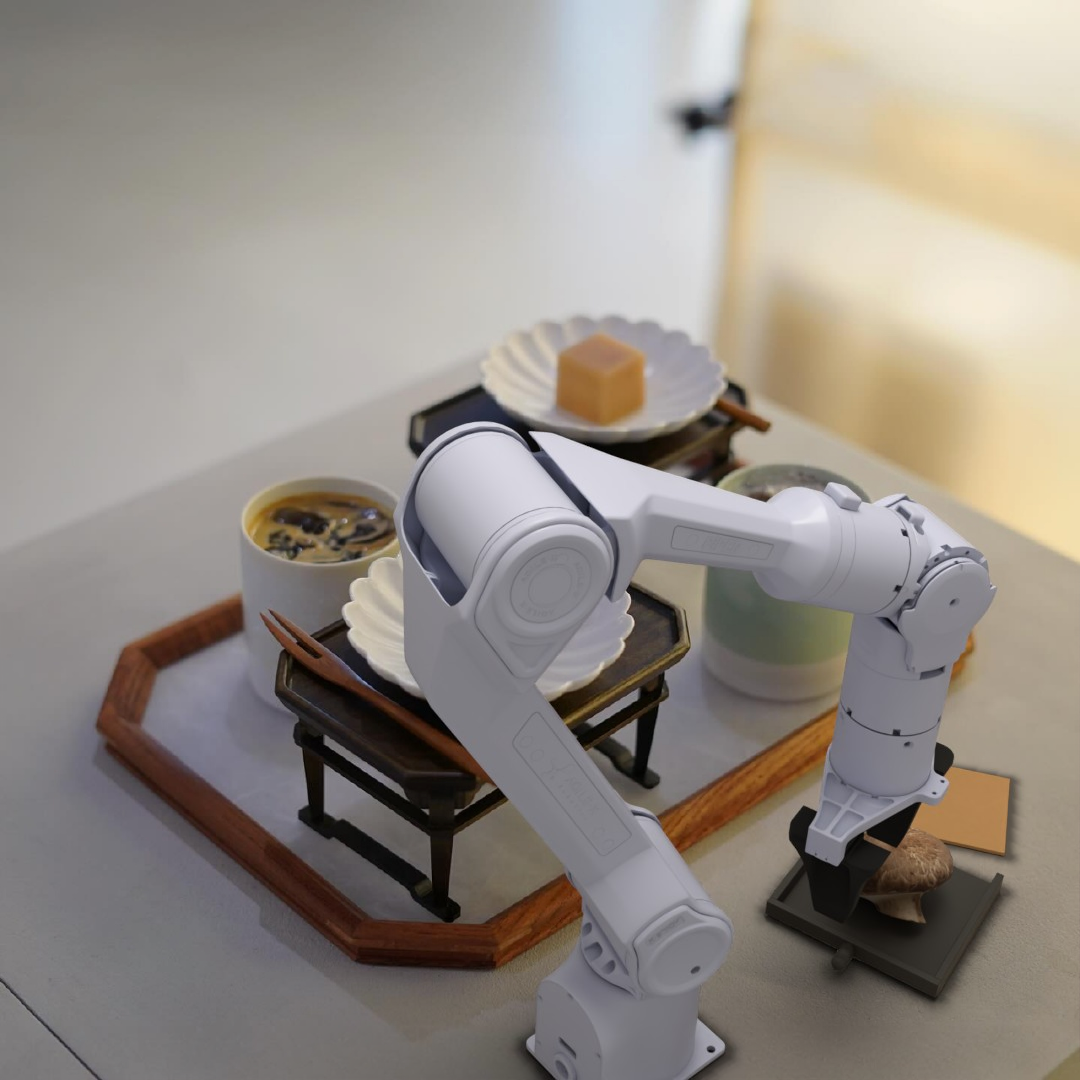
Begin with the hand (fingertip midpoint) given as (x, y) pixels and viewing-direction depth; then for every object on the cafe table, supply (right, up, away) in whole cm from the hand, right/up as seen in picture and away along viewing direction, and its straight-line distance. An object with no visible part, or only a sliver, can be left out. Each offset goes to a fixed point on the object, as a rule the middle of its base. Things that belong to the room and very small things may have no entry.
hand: (857, 875), depth 93 cm
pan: (+3, -4, +9) cm, 10 cm away
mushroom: (+4, -4, +9) cm, 11 cm away
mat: (+10, +1, +17) cm, 20 cm away
